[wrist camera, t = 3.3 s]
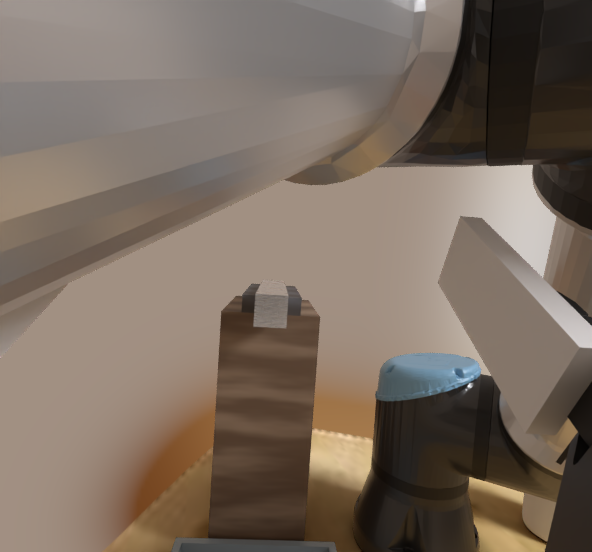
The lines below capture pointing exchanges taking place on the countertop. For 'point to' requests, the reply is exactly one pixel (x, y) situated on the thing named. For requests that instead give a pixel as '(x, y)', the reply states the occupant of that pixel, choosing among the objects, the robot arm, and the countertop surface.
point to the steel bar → (271, 305)
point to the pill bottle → (538, 515)
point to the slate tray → (249, 545)
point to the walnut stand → (263, 422)
